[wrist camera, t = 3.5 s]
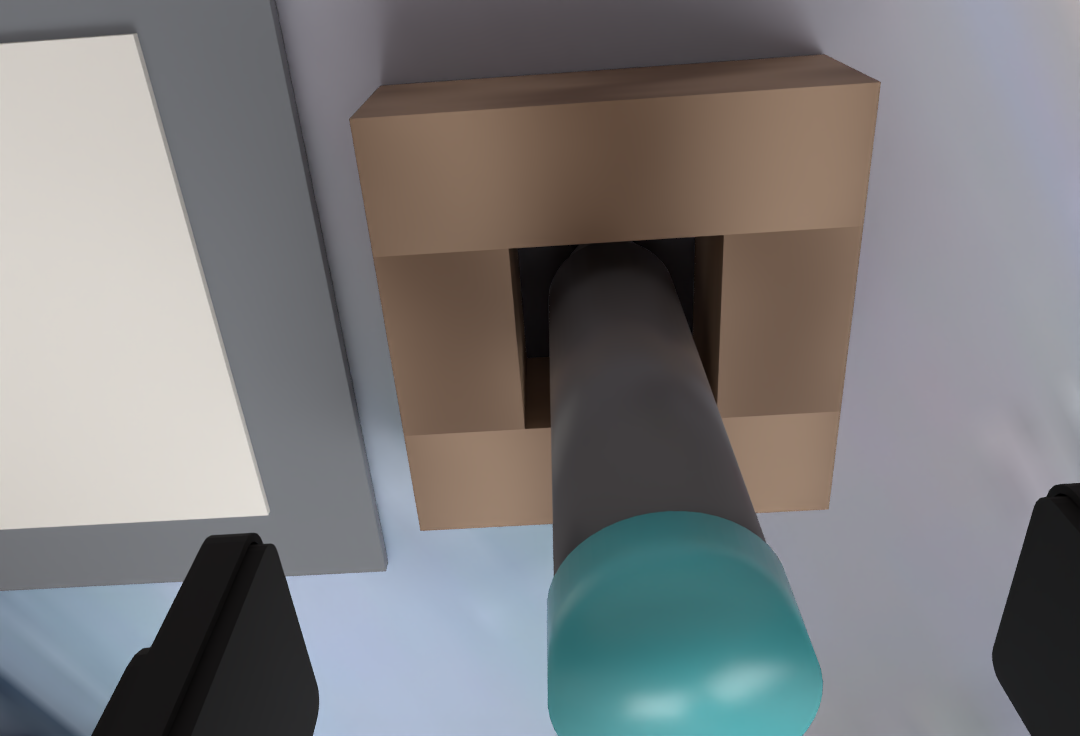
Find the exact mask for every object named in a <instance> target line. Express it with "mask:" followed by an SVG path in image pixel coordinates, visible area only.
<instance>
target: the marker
mask: <svg viewBox="0 0 1080 736" xmlns="http://www.w3.org/2000/svg"><path fill="white" fill-rule="evenodd" d="M548 305H549V356H550V407H551V458H552V508H553V559H554V578H553V580H552V583H551V586H550V589H549V593H548V599H547V660H548V710H549V715H550V719H551V722H552V724H553V727H554V730H555V731H556V733H557V735H558V736H802V735H803V734H804V733H805V732H806V731H807V729H808V728H809V726H810V725H811V723H812V721H813V720H814V718H815V716H816V713H817V711H818V709H819V706H820V702H821V697H822V688H823V680H822V673H821V668H820V665H819V663H818V660H817V657H816V655H815V652H814V649H813V646H812V644H811V641H810V638H809V636H808V633H807V630H806V628H805V625H804V622H803V619H802V617H801V614H800V611H799V609H798V606H797V603H796V601H795V598H794V595H793V592H792V590H791V587H790V584H789V582H788V579H787V576H786V574H785V571H784V568H783V566H782V564H781V562H780V560H779V559H778V557H777V555H776V554H775V553H774V552H773V550H772V549H771V548H770V547H769V546H768V544H766V541H765V538H764V535H763V533H762V530H761V527H760V524H759V521H758V519H757V516H756V513H755V510H754V507H753V505H752V502H751V499H750V496H749V494H748V491H747V488H746V485H745V482H744V480H743V477H742V474H741V471H740V468H739V466H738V463H737V460H736V457H735V454H734V452H733V449H732V446H731V443H730V440H729V438H728V435H727V432H726V429H725V426H724V424H723V421H722V418H721V415H720V413H719V410H718V407H717V404H716V401H715V399H714V396H713V393H712V390H711V387H710V385H709V382H708V379H707V376H706V373H705V371H704V368H703V365H702V362H701V359H700V357H699V354H698V351H697V348H696V345H695V343H694V340H693V337H692V334H691V332H690V329H689V326H688V323H687V320H686V318H685V315H684V312H683V309H682V306H681V304H680V301H679V298H678V295H677V292H676V290H675V287H674V284H673V281H672V279H671V276H670V273H669V272H668V270H667V268H666V266H665V265H664V264H663V262H662V261H661V260H660V259H659V258H658V257H657V256H656V255H655V254H653V253H652V252H651V251H649V250H647V249H646V248H644V247H642V246H639V245H637V244H635V243H634V242H632V241H621V242H605V243H590V244H580V245H579V246H578V247H577V248H576V249H575V250H574V251H573V252H572V253H571V255H570V257H569V258H568V259H567V260H565V261H564V263H563V264H562V265H561V266H560V267H559V269H558V271H557V272H556V274H555V276H554V278H553V280H552V283H551V286H550V290H549V297H548Z"/></svg>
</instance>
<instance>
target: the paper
mask: <svg viewBox="0 0 1080 736" xmlns="http://www.w3.org/2000/svg"><path fill="white" fill-rule="evenodd" d="M269 512H270V509H269V505H268V501H267V498H266V494H265V491H264V487H263V484H262V480H261V476H260V473H259V469H258V466H257V462H256V458H255V455H254V451H253V448H252V444H251V440H250V437H249V433H248V430H247V426H246V423H245V419H244V415H243V412H242V408H241V405H240V401H239V397H238V394H237V390H236V387H235V383H234V379H233V376H232V372H231V369H230V365H229V362H228V358H227V354H226V351H225V347H224V344H223V340H222V336H221V333H220V329H219V326H218V322H217V318H216V315H215V311H214V308H213V304H212V301H211V297H210V293H209V290H208V286H207V283H206V279H205V275H204V272H203V268H202V265H201V261H200V257H199V254H198V250H197V247H196V243H195V240H194V236H193V232H192V229H191V225H190V222H189V218H188V214H187V211H186V207H185V204H184V200H183V196H182V193H181V189H180V186H179V182H178V179H177V175H176V171H175V168H174V164H173V161H172V157H171V153H170V150H169V146H168V143H167V139H166V135H165V132H164V128H163V125H162V121H161V118H160V114H159V110H158V107H157V103H156V100H155V96H154V92H153V89H152V85H151V82H150V78H149V75H148V71H147V67H146V64H145V60H144V57H143V53H142V49H141V46H140V42H139V39H138V35H137V33H134V34H120V35H106V36H93V37H79V38H65V39H52V40H38V41H25V42H11V43H0V530H4V529H23V528H41V527H60V526H79V525H97V524H116V523H135V522H153V521H172V520H191V519H209V518H228V517H247V516H265V515H269Z"/></svg>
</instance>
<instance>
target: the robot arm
mask: <svg viewBox="0 0 1080 736" xmlns="http://www.w3.org/2000/svg"><path fill="white" fill-rule="evenodd" d="M992 661H993V666H994V670H995V673H996V676H997V678H998V680H999V682H1000V684H1001V686H1002V687H1003V689H1004V691H1005V692H1006V694H1007V696H1008V697H1009V699H1010V701H1011V702H1012V704H1013V706H1014V707H1015V709H1016V711H1017V713H1018V714H1019V716H1020V718H1021V719H1022V721H1023V723H1024V724H1025V726H1026V728H1027V729H1028V731H1029V733H1030V734H1031V736H1080V483H1072V484H1059V485H1055V486H1053V487H1052V488H1051V489H1050V490H1049V492H1048V495H1047V497H1043V498H1040V499H1039V500H1038V501H1037V502H1036V504H1035V506H1034V509H1033V512H1032V516H1031V519H1030V523H1029V526H1028V529H1027V533H1026V536H1025V540H1024V543H1023V547H1022V550H1021V554H1020V557H1019V560H1018V564H1017V567H1016V571H1015V574H1014V578H1013V581H1012V585H1011V588H1010V591H1009V595H1008V598H1007V602H1006V605H1005V609H1004V612H1003V615H1002V619H1001V622H1000V626H999V629H998V633H997V636H996V640H995V643H994V646H993V652H992ZM318 710H319V691H318V686H317V683H316V679H315V676H314V672H313V669H312V666H311V662H310V659H309V656H308V652H307V649H306V645H305V642H304V639H303V635H302V632H301V628H300V625H299V622H298V618H297V615H296V612H295V608H294V605H293V601H292V598H291V595H290V591H289V588H288V585H287V581H286V578H285V574H284V571H283V568H282V564H281V561H280V558H279V554H278V551H277V549H276V547H275V545H274V544H271V543H269V544H263V542H262V539H261V537H260V536H259V535H258V534H257V533H239V534H223V535H210V536H209V537H207V538H206V539H205V541H204V542H203V544H202V545H201V547H200V549H199V551H198V553H197V555H196V557H195V559H194V561H193V563H192V565H191V567H190V570H189V572H188V574H187V576H186V578H185V580H184V582H183V584H182V586H181V588H180V590H179V592H178V594H177V596H176V598H175V600H174V602H173V604H172V606H171V608H170V610H169V612H168V614H167V616H166V618H165V620H164V622H163V624H162V626H161V628H160V630H159V632H158V634H157V636H156V638H155V640H154V642H153V644H152V646H151V647H150V648H143V649H142V650H140V651H139V652H138V653H137V654H135V655H134V657H133V658H132V660H131V661H130V663H129V664H128V666H127V668H126V669H125V671H124V673H123V675H122V677H121V679H120V681H119V683H118V685H117V687H116V689H115V691H114V693H113V695H112V697H111V698H110V700H109V702H108V704H107V706H106V708H105V710H104V712H103V714H102V716H101V718H100V720H99V722H98V724H97V726H96V728H95V729H94V731H93V733H92V735H91V736H313V733H314V729H315V725H316V721H317V716H318Z"/></svg>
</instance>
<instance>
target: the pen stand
mask: <svg viewBox="0 0 1080 736" xmlns="http://www.w3.org/2000/svg"><path fill="white" fill-rule="evenodd" d="M880 84H881V82H879V81H877V80H875V79H873V78H871V77H869V76H867V75H865V74H863V73H861V72H859V71H857V70H855V69H853V68H851V67H849V66H847V65H845V64H843V63H841V62H839V61H837V60H835V59H833V58H831V57H829V56H827V55H825V54H823V55H808V56H794V57H780V58H766V59H752V60H738V61H723V62H709V63H695V64H681V65H667V66H653V67H638V68H624V69H610V70H596V71H582V72H567V73H553V74H539V75H525V76H511V77H497V78H482V79H468V80H454V81H440V82H426V83H412V84H397V85H383V86H380V87H379V88H378V89H377V90H376V91H375V92H374V93H373V94H372V95H371V96H370V97H369V98H368V99H367V101H366V102H365V103H364V104H363V105H362V106H361V107H360V108H359V109H358V110H357V111H356V112H355V113H354V114H353V116H352V117H351V118H350V119H349V120H350V126H351V132H352V138H353V144H354V149H355V155H356V161H357V167H358V172H359V178H360V184H361V190H362V196H363V201H364V207H365V213H366V219H367V224H368V230H369V236H370V242H371V248H372V253H373V259H374V265H375V271H376V276H377V282H378V288H379V294H380V300H381V305H382V311H383V317H384V323H385V328H386V334H387V340H388V346H389V351H390V357H391V363H392V369H393V375H394V380H395V386H396V392H397V398H398V403H399V409H400V415H401V421H402V427H403V432H404V438H405V444H406V450H407V455H408V461H409V467H410V473H411V479H412V484H413V490H414V496H415V502H416V507H417V513H418V519H419V525H420V531H426V530H445V529H464V528H483V527H502V526H521V525H540V524H553V508H552V458H551V407H550V357H537V358H527V352H526V340H525V328H524V317H523V305H522V293H521V281H520V269H519V258H518V248H527V247H543V246H558V245H574V244H590V243H605V242H621V241H637V240H652V239H668V238H684V237H695V253H694V298H693V340H694V343H695V345H696V348H697V351H698V354H699V357H700V359H701V362H702V365H703V368H704V371H705V373H706V376H707V379H708V382H709V385H710V387H711V390H712V393H713V396H714V399H715V401H716V404H717V407H718V410H719V413H720V415H721V418H722V421H723V424H724V426H725V429H726V432H727V435H728V438H729V440H730V443H731V446H732V449H733V452H734V454H735V457H736V460H737V463H738V466H739V468H740V471H741V474H742V477H743V480H744V482H745V485H746V488H747V491H748V494H749V496H750V499H751V502H752V505H753V507H754V510H755V513H768V512H787V511H806V510H825V509H829V501H830V493H831V485H832V477H833V469H834V460H835V452H836V444H837V436H838V428H839V420H840V411H841V403H842V395H843V387H844V379H845V371H846V362H847V354H848V346H849V338H850V330H851V321H852V313H853V305H854V297H855V289H856V281H857V272H858V264H859V256H860V248H861V240H862V232H863V223H864V215H865V207H866V199H867V191H868V182H869V174H870V166H871V158H872V150H873V142H874V133H875V125H876V117H877V109H878V101H879V93H880Z"/></svg>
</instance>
